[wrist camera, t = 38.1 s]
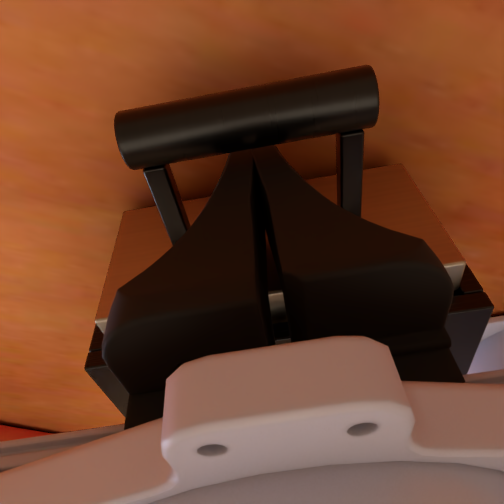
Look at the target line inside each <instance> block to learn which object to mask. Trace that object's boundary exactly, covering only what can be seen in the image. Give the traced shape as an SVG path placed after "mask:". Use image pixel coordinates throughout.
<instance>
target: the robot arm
mask: <svg viewBox="0 0 504 504" xmlns="http://www.w3.org/2000/svg"><path fill="white" fill-rule="evenodd" d="M265 230H266V233H267V237H268V240H269V244H270V248H271V251H272V255H273V258H274V262H275V266H276V269H277V273H278V276H279V280H280V284H281V288H282V292H283V297H284V303H285V309H286V315H287V321H288V327H289V332H290V338H291V343H286V344H279V345H276V344H275V337H274V330H273V324H272V317H271V310H270V303H269V295H268V282H267V257H266V233H265ZM453 294H454V285H453V283H452V280H451V277H450V276H449V274H448V272H447V270H446V269H445V267H444V265H443V264H442V262H441V261H440V260H439V258H438V257H437V256H436V254H435V253H434V252H433V251H432V249H431V248H430V247H429V246H428V245H427V243H426V242H425V241H424V240H423V239H421V238H418V237H414V236H411V235H407V234H404V233H401V232H397V231H394V230H390V229H388V228H385V227H382V226H380V225H377V224H375V223H372V222H370V221H367V220H365V219H363V218H361V217H359V216H357V215H355V214H353V213H351V212H349V211H347V210H345V209H343V208H341V207H340V206H338V205H336V204H335V203H333V202H332V201H330V200H329V199H327V198H326V197H325V196H323V195H322V194H321V193H319V192H318V191H317V190H316V189H314V188H313V187H312V186H311V185H310V184H309V183H307V182H306V181H305V180H304V179H303V178H302V177H301V176H300V175H299V174H298V173H297V172H296V171H295V170H294V169H293V168H292V167H291V166H290V165H289V163H288V162H287V161H286V160H285V159H284V157H283V156H282V155H281V153H280V152H279V151H278V149H277V147H276V146H274V145H271V146H265V147H259V148H254V149H248V150H243V151H237V152H232V153H230V154H229V155H228V159H227V162H226V165H225V167H224V170H223V172H222V175H221V177H220V179H219V181H218V183H217V185H216V187H215V189H214V191H213V193H212V195H211V196H210V198H209V200H208V202H207V203H206V205H205V207H204V208H203V210H202V211H201V213H200V214H199V216H198V217H197V219H196V220H195V221H194V223H193V224H192V225H191V227H190V228H189V229H188V230H187V231H186V232H185V234H184V235H183V236H182V237H181V238H180V239H179V240H178V241H177V242H176V243H175V244H174V245H173V246H172V247H171V248H170V249H169V250H168V251H167V252H166V253H165V254H164V255H163V256H161V257H160V258H159V259H158V260H157V261H156V262H154V263H153V264H152V265H151V266H149V267H148V268H147V269H146V270H144V271H143V272H141V273H140V274H139V275H137V276H136V277H134V278H133V279H132V280H130V281H129V282H127V283H126V284H125V285H123V286H121V287H120V288H118V290H117V292H116V296H115V298H114V301H113V303H112V306H111V309H110V312H109V315H108V319H107V324H106V328H105V333H104V337H103V342H102V357H103V359H104V361H105V363H106V365H107V366H108V368H109V369H110V370H111V372H112V373H113V374H114V375H115V377H116V378H117V379H118V381H119V382H120V383H121V384H122V386H123V387H124V388H125V389H126V391H127V392H128V393H129V399H128V406H127V412H126V419H125V424H120V425H113V426H106V427H99V428H92V429H85V430H78V431H71V432H64V433H58V434H51V435H44V436H37V437H30V438H23V439H16V440H9V441H2V442H0V504H504V316H497V317H490V319H489V322H488V324H487V326H486V329H485V331H484V334H483V336H482V339H481V341H480V344H479V346H478V349H477V351H476V353H475V356H474V358H473V361H472V363H471V366H470V368H469V371H468V373H467V374H466V375H462V373H461V371H460V369H459V367H458V365H457V363H456V361H455V359H454V357H453V355H452V353H451V351H450V349H449V348H450V347H451V345H452V342H451V339H450V337H449V335H448V333H447V331H446V329H445V327H444V326H445V323H446V319H447V316H448V313H449V310H450V306H451V303H452V300H453Z"/></svg>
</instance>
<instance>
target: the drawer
mask: <svg viewBox="0 0 504 504" xmlns="http://www.w3.org/2000/svg"><path fill="white" fill-rule="evenodd" d="M378 114H379V89H378V83H377V78H376V75H375V72H374V70H373V68H372V67H371V66H370V65H363V66H357V67H352V68H347V69H341V70H336V71H331V72H326V73H320V74H315V75H310V76H304V77H299V78H294V79H288V80H283V81H278V82H272V83H267V84H262V85H257V86H251V87H246V88H241V89H235V90H230V91H225V92H219V93H214V94H209V95H203V96H198V97H193V98H187V99H182V100H177V101H172V102H166V103H161V104H156V105H150V106H145V107H140V108H134V109H129V110H124V111H119V112H118V113H116V115H115V119H114V129H115V136H116V141H117V144H118V148H119V151H120V153H121V156H122V158H123V160H124V162H125V163H126V165H127V166H128V167H129V168H130V169H133V170H137V169H142V168H143V173H144V176H145V178H146V181H147V183H148V186H149V188H150V191H151V193H152V196H153V198H154V201H155V203H156V206H153V207H147V208H141V209H136V210H130V211H125V212H124V213H123V216H122V220H121V224H120V228H119V231H118V235H117V239H116V243H115V246H114V250H113V254H112V258H111V261H110V265H109V269H108V272H107V276H106V280H105V284H104V287H103V291H102V295H101V299H100V302H99V306H98V310H97V314H96V317H95V322H96V324H97V325H98V327H99V328H100V329H101V331H102V332H103V334H104V333H105V328H106V324H107V319H108V315H109V312H110V309H111V306H112V303H113V301H114V298H115V296H116V292H117V290H118V288H120V287H121V286H123V285H125V284H126V283H127V282H129V281H130V280H132V279H133V278H134V277H136V276H137V275H139V274H140V273H141V272H143V271H144V270H146V269H147V268H148V267H149V266H151V265H152V264H153V263H154V262H156V261H157V260H158V259H159V258H160V257H161V256H163V255H164V254H165V253H166V252H167V251H168V250H169V249H170V248H171V247H172V246H173V245H174V244H175V243H176V242H177V241H178V240H179V239H180V238H181V237H182V236H183V235H184V234H185V232H186V231H187V230H188V229H189V228H190V227H191V225H192V224H193V223H194V221H195V220H196V219H197V217H198V216H199V214H200V213H201V211H202V210H203V208H204V207H205V205H206V203H207V202H208V200H209V198H210V197H205V198H199V199H193V200H187V201H182V200H181V197H180V194H179V191H178V188H177V185H176V182H175V179H174V176H173V173H172V170H171V167H170V165H169V164H170V163H176V162H181V161H187V160H193V159H198V158H204V157H209V156H215V155H220V154H226V153H232V152H237V151H243V150H248V149H254V148H259V147H265V146H271V145H276V144H282V143H287V142H293V141H299V140H304V139H310V138H315V137H321V136H326V135H332V134H336V173H337V175H331V176H326V177H320V178H314V179H308V180H305V181H306V182H307V183H309V184H310V185H311V186H312V187H313V188H314V189H316V190H317V191H318V192H319V193H321V194H322V195H323V196H325V197H326V198H327V199H329V200H330V201H332V202H333V203H335V204H336V205H338V206H340V207H341V208H343V209H345V210H347V211H349V212H351V213H353V214H355V215H357V216H359V217H361V218H363V219H365V220H367V221H370V222H372V223H375V224H377V225H380V226H382V227H385V228H388V229H390V230H394V231H397V232H401V233H404V234H407V235H411V236H414V237H418V238H421V239H423V240H424V241H425V242H426V243H427V245H428V246H429V247H430V248H431V249H432V251H433V252H434V253H435V254H436V256H437V257H438V258H439V260H440V261H441V262H442V264H443V265H444V267H445V269H446V270H447V272H448V274H449V276H450V277H451V280H452V283H453V285H454V290H457V289H458V288H459V286H460V282H461V279H462V276H463V272H464V269H465V265H466V261H465V259H464V258H463V256H462V255H461V253H460V252H459V250H458V248H457V247H456V245H455V244H454V242H453V241H452V239H451V238H450V236H449V235H448V233H447V232H446V230H445V229H444V227H443V226H442V224H441V223H440V221H439V220H438V218H437V216H436V215H435V213H434V212H433V210H432V209H431V207H430V206H429V204H428V203H427V201H426V200H425V198H424V197H423V195H422V194H421V192H420V191H419V189H418V187H417V186H416V184H415V183H414V181H413V180H412V178H411V177H410V175H409V174H408V172H407V171H406V169H405V168H404V166H403V165H402V164H395V165H389V166H383V167H378V168H372V169H366V170H363V152H364V131H363V129H365V128H371V127H373V126H375V124H376V122H377V119H378ZM265 233H266V230H265ZM266 257H267V282H268V295H269V303H270V310H271V317H272V318H278V317H285V316H287V315H286V309H285V303H284V297H283V292H282V288H281V284H280V280H279V276H278V273H277V269H276V266H275V262H274V258H273V255H272V251H271V248H270V244H269V240H268V237H267V233H266Z"/></svg>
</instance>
